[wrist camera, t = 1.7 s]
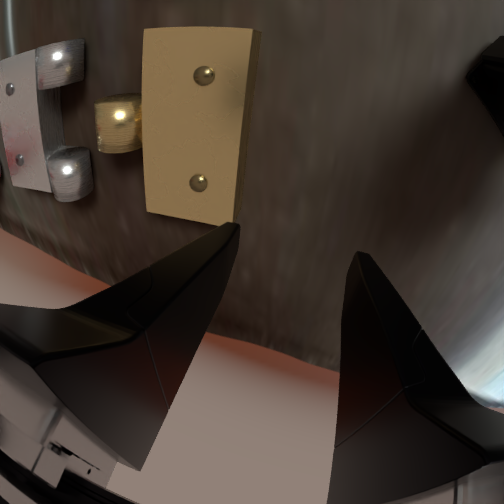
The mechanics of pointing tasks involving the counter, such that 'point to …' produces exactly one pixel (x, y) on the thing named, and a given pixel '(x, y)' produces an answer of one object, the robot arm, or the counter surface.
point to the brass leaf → (188, 120)
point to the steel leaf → (43, 121)
